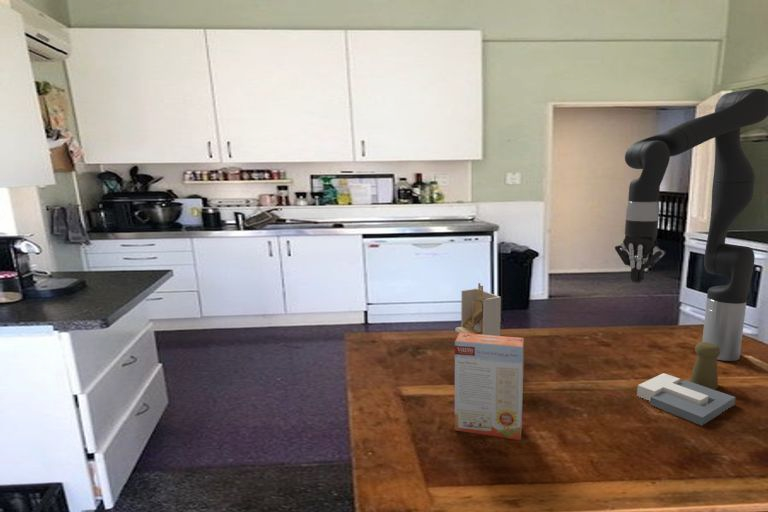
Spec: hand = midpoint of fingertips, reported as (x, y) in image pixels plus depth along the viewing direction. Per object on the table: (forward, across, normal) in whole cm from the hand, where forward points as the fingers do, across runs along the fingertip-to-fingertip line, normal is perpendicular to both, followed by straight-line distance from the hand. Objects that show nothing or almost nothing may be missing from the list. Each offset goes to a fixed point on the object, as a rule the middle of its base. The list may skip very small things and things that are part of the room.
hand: (636, 281), depth 123 cm
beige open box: (+26, +26, +33) cm, 49 cm away
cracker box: (+25, 0, +55) cm, 60 cm away
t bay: (+25, -20, +8) cm, 33 cm away
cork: (+25, -16, -6) cm, 30 cm away
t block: (+25, -16, +8) cm, 31 cm away
